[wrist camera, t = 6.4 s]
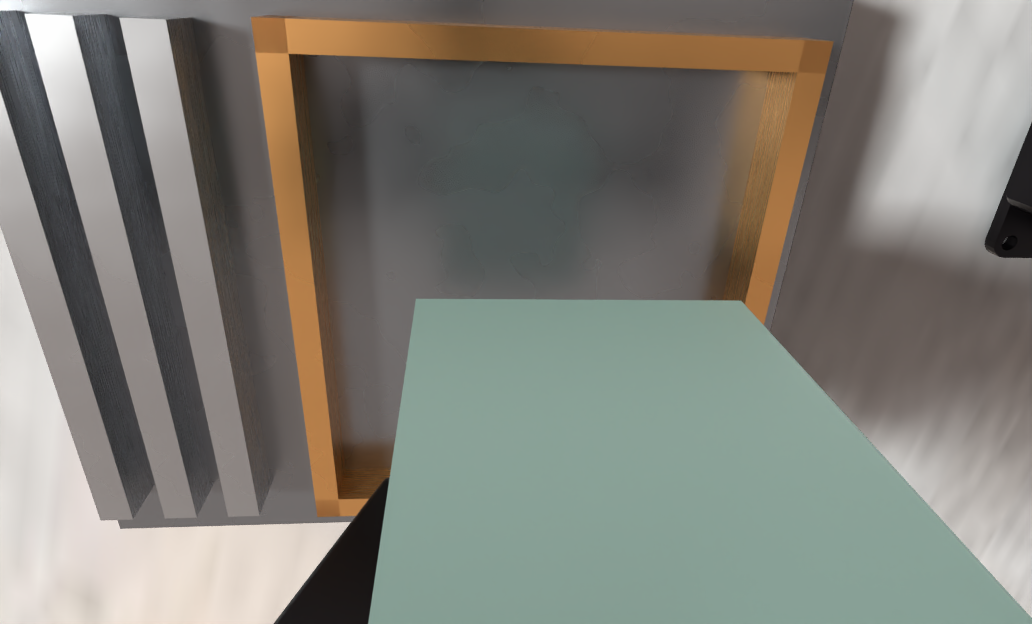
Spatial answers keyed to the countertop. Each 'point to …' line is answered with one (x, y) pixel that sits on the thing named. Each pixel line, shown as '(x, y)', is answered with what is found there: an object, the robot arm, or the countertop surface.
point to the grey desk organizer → (368, 207)
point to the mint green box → (647, 480)
